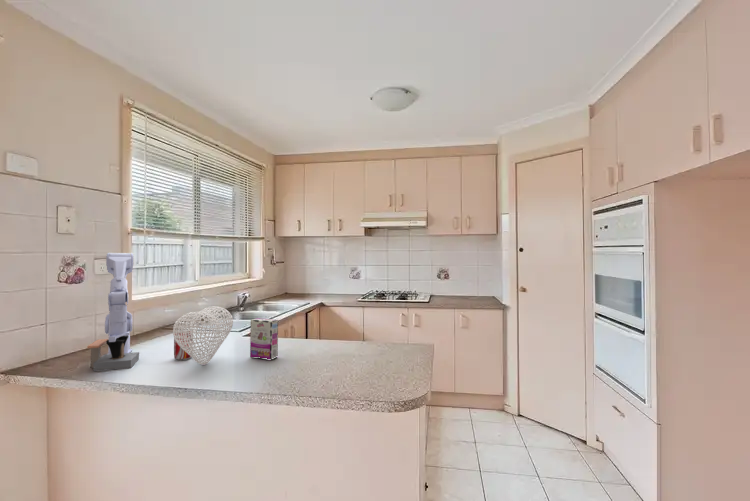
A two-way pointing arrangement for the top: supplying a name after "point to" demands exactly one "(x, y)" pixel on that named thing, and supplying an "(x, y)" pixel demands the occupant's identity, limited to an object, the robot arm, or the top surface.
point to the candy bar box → (264, 338)
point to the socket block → (110, 358)
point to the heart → (217, 332)
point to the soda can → (178, 351)
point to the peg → (121, 352)
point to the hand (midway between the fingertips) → (117, 356)
